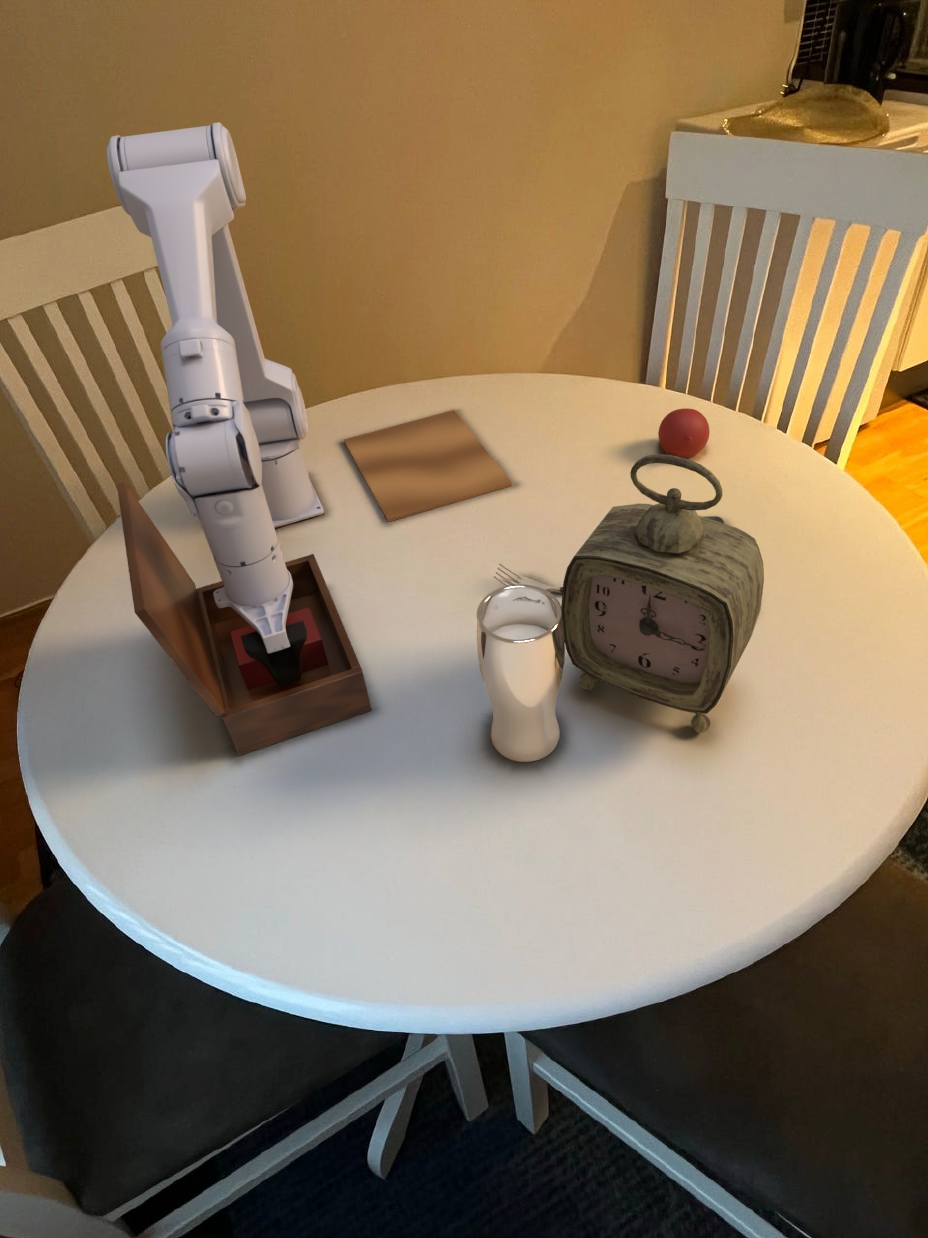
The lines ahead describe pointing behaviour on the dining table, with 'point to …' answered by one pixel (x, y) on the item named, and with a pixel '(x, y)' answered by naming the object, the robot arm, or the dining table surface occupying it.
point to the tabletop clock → (663, 599)
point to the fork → (524, 580)
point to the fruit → (684, 433)
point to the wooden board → (425, 465)
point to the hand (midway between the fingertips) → (281, 654)
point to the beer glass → (522, 668)
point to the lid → (167, 599)
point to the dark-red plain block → (310, 654)
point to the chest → (297, 704)
